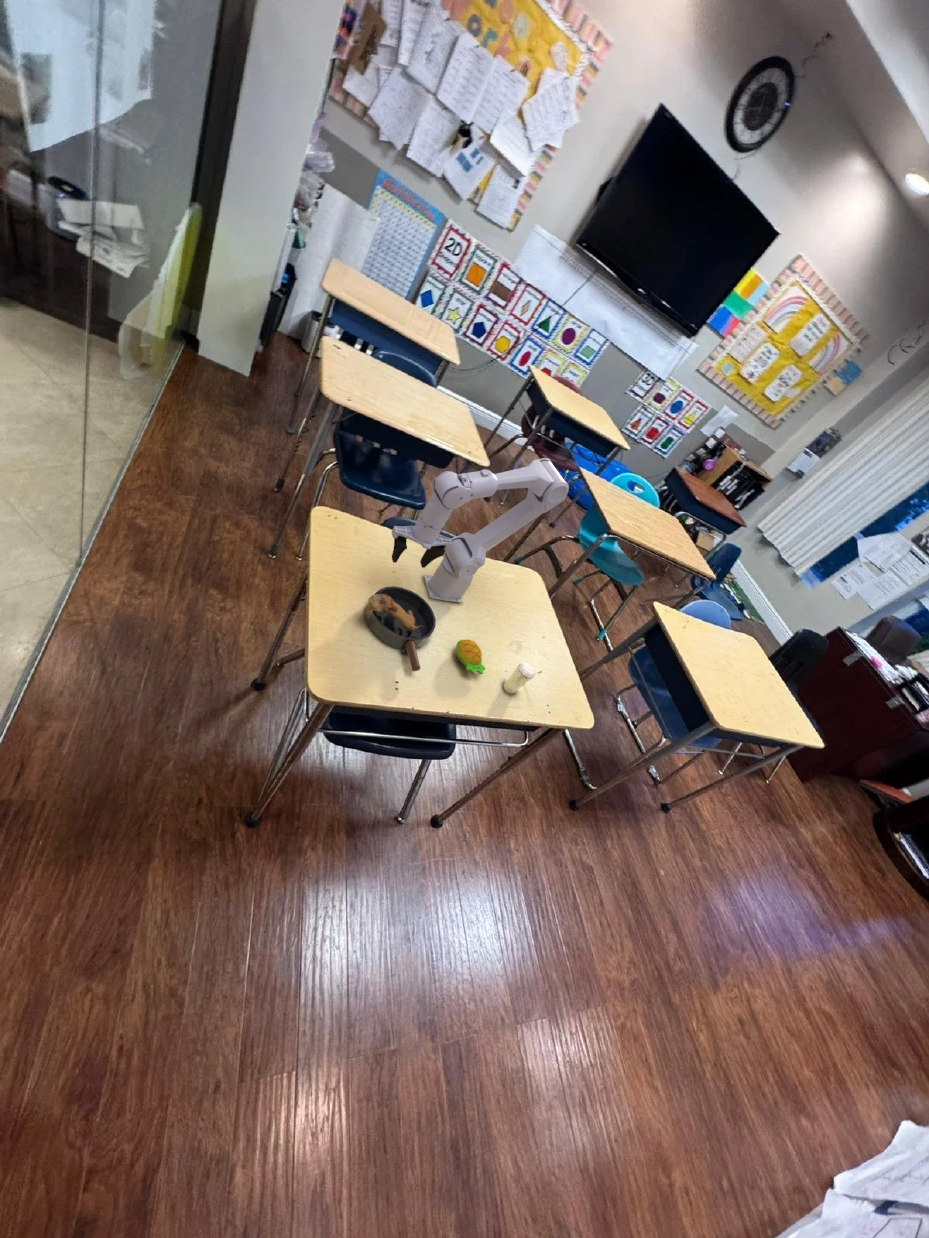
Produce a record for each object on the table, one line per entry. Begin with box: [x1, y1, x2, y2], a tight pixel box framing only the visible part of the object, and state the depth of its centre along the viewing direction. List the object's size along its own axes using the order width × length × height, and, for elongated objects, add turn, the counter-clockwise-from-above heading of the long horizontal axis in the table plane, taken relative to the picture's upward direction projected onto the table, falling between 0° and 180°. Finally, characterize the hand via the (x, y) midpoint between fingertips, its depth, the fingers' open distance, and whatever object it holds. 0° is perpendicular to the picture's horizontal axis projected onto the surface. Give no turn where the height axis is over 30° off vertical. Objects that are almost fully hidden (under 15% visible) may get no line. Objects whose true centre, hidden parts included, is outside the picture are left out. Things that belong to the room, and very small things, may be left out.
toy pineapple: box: [455, 638, 486, 675], centre depth 124 cm, size 7×10×5 cm
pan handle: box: [400, 641, 421, 672], centre depth 115 cm, size 7×2×4 cm, turn 17°
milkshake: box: [503, 661, 543, 695], centre depth 124 cm, size 4×5×10 cm
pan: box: [365, 585, 437, 650], centre depth 122 cm, size 16×16×4 cm
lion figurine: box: [366, 594, 424, 632], centre depth 117 cm, size 15×5×9 cm
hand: (408, 562), depth 125 cm, fingers open, 7 cm apart
